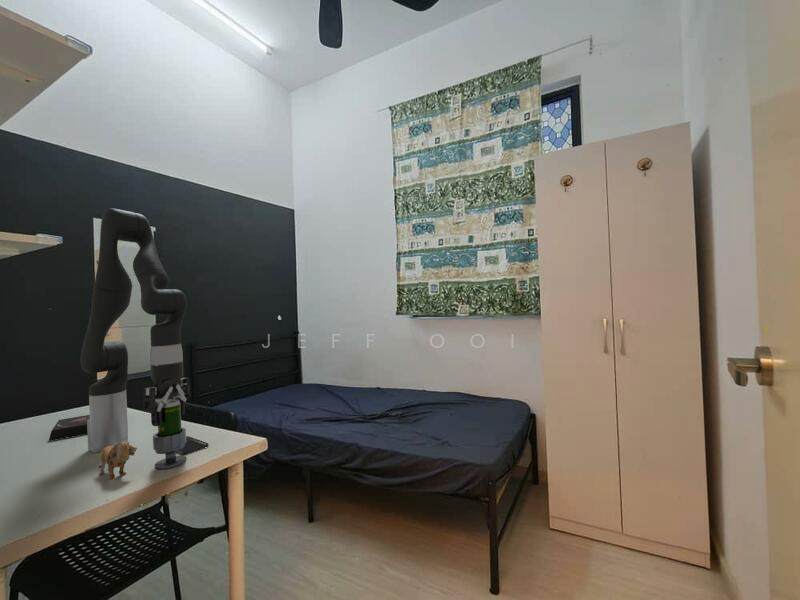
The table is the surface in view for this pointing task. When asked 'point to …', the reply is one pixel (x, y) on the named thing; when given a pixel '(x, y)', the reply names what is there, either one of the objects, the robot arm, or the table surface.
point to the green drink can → (170, 418)
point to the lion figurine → (116, 458)
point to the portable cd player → (70, 427)
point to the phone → (192, 446)
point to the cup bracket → (169, 449)
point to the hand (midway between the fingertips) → (169, 420)
